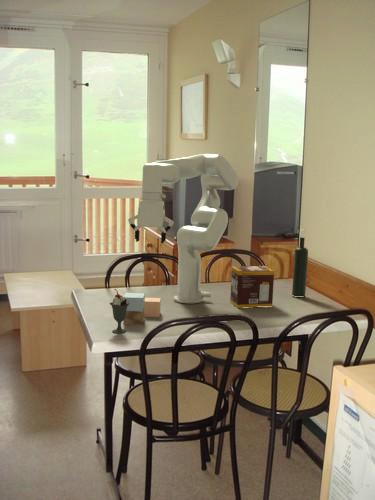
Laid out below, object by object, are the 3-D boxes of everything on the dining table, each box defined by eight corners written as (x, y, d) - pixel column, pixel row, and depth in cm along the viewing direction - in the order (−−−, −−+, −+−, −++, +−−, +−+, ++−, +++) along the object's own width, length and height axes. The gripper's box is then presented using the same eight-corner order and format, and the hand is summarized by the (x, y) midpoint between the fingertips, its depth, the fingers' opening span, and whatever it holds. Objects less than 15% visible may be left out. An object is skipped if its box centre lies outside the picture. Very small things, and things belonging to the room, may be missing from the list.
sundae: (109, 328, 210) (110, 287, 207) (129, 328, 210) (129, 287, 208) (108, 334, 203) (109, 291, 201) (128, 334, 204) (129, 291, 201)
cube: (160, 313, 233) (160, 298, 232) (159, 317, 227) (159, 301, 226) (144, 312, 233) (145, 297, 232) (143, 316, 227) (143, 301, 226)
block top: (144, 306, 222) (144, 293, 221) (142, 311, 215) (143, 297, 215) (125, 305, 222) (125, 292, 221) (123, 310, 215) (123, 297, 215)
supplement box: (229, 302, 253) (231, 265, 250) (264, 301, 256) (266, 265, 254) (236, 308, 243) (238, 270, 240) (272, 307, 246) (274, 270, 244)
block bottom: (144, 319, 223) (144, 306, 222) (142, 324, 216) (143, 311, 215) (125, 318, 223) (125, 305, 222) (123, 324, 216) (123, 310, 215)
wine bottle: (307, 297, 266) (312, 230, 261) (298, 298, 262) (302, 230, 257) (298, 294, 270) (302, 228, 265) (289, 295, 267) (293, 229, 262)
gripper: (175, 197, 228) (173, 242, 230) (131, 195, 229) (129, 239, 232) (173, 198, 220) (171, 244, 223) (127, 196, 222) (125, 241, 225)
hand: (150, 242), depth 227 cm, fingers open, 9 cm apart
